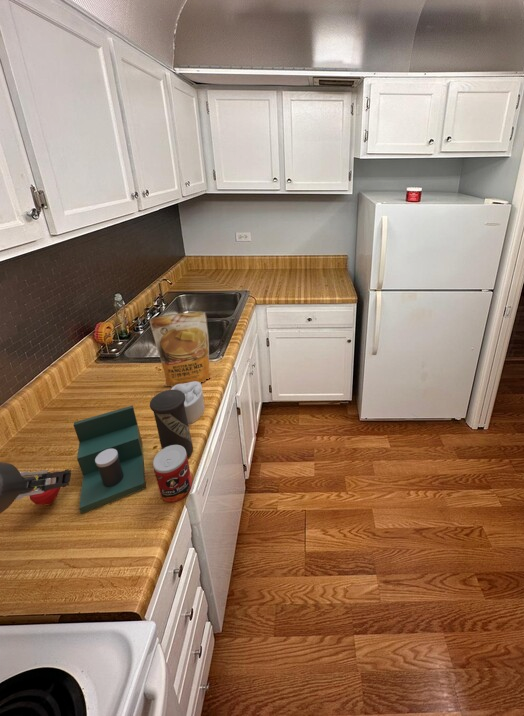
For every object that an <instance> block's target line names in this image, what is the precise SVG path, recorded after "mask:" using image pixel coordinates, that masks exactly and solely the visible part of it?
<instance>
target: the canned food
mask: <svg viewBox="0 0 524 716" xmlns="http://www.w3.org/2000/svg"><path fill="white" fill-rule="evenodd" d="M152 467H153V472H154V475H155V479H156V484H157V487H158V492H159V495H160V497H161V499H162V500H163V501H165V502H166V503H176V502H178V501H180V500H182V499H184V498H185V497H186V496H187V495H188V493H189V492H190V490H191V488H192V483H193V479H192V475H191V469H190V464H189V458H187V453H186V450H185V448H184V447H182V446H180V445H171V446H168V447H165V448H164V449H161V450H159V451H158V452H157V453H156V455H154V458H153V460H152Z"/></svg>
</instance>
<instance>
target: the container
mask: <svg viewBox="0 0 524 716" xmlns="http://www.w3.org/2000/svg"><path fill="white" fill-rule="evenodd" d="M184 402H185V394H184V393H183V392H182V391H180V390H171V389H166V390H163V391H160V392H158V393H156V394H155V395H154V396H153V397H151V399H150V402H149V409H150V410H151V411H152V412H153V416H154V420H155V425H156V429H157V434H158V438H159V443H160V444H159V445H160V448H161V450H162V449H164V448H165V447H168V446H171V445H180V446H182V447H184V448H185V450H186V453H187V458H188V459H189V458H190V457H191V456H192V454H193V452H194V446H193V445H194V444H193V440H192V436H191V435H192V434H191V431H190V424H189V425H188V420H187V416H186V411H185V406H184Z"/></svg>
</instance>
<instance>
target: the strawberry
mask: <svg viewBox="0 0 524 716" xmlns="http://www.w3.org/2000/svg"><path fill="white" fill-rule="evenodd" d="M56 471H57V470H56ZM56 471H55V470H52V471H50V472H51V473H52V472H56ZM35 478H36V480H38V476H37V475H35ZM36 488H37V486H36V487H35V488H34V489H33V490H32V491H34V490H35V489H36ZM61 488H62V487H59V488H55V489H50V490H48V491H45V492H43V493H40V494H35V495H29V496H28V497H29V500H30V501H31V502H32V503H34V504H35V505H37V506H48V505H49V506H50V505H52V504H53V503H54V502H55V500H56V499H57V497H58V495H59V493H60V490H61ZM30 492H31V491H30Z"/></svg>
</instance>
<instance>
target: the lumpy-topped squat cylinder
mask: <svg viewBox="0 0 524 716" xmlns="http://www.w3.org/2000/svg"><path fill="white" fill-rule="evenodd" d="M170 388H171V389H170V390H180V391H182V392H183V393H184V394H185V402H184V406H185V411H186V416H187V420H188V425H189V426H190V425H191V424H194V423H195V422H197V421H198V420H199V419H200V418H201V417H202V415H203V414H204V413H205V410H206V409H205V400H204V399H205V398H204V392H203V385H202V383H200V382H197V381H193V382H189V383H183V384H177V385H175V386H174V387H170Z"/></svg>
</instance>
